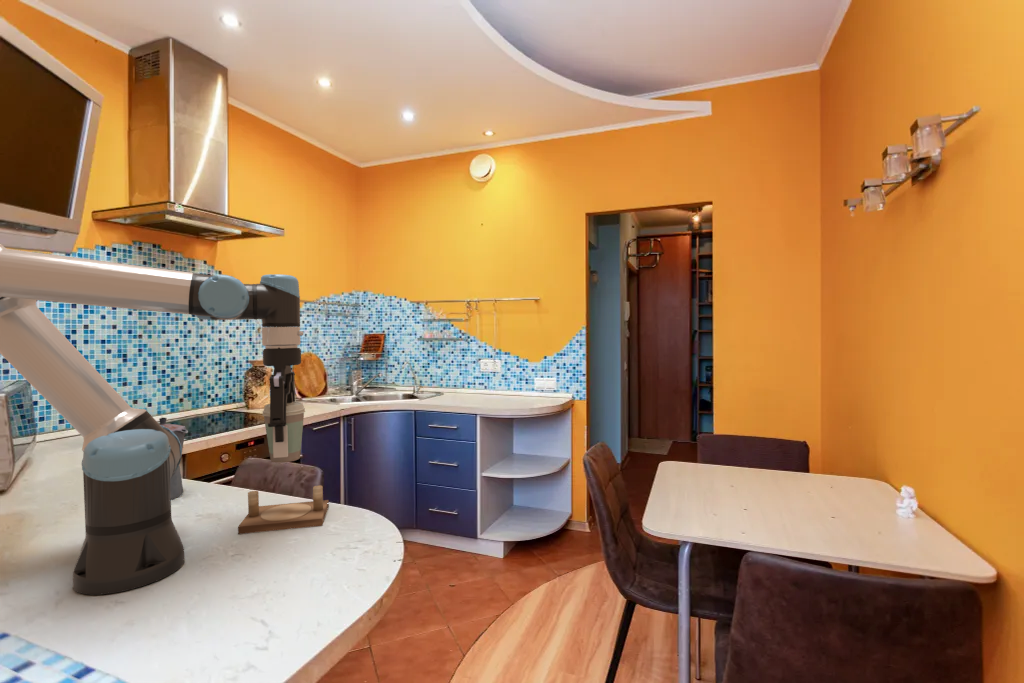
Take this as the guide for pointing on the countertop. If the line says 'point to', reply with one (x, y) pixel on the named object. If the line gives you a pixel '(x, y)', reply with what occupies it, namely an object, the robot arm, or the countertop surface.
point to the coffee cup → (294, 431)
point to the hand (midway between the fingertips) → (284, 452)
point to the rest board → (284, 514)
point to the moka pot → (176, 477)
